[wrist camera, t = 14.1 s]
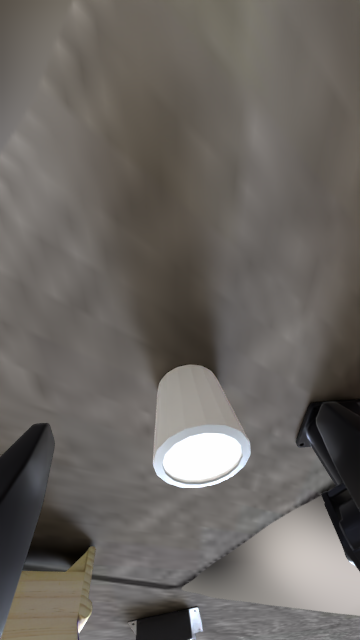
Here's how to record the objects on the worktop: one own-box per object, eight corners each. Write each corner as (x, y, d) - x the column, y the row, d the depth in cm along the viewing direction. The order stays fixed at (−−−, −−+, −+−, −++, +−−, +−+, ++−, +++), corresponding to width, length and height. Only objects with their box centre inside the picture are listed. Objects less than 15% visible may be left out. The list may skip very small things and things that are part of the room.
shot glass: (239, 385, 25) (270, 454, 18) (186, 425, 26) (199, 499, 20) (190, 344, 22) (208, 409, 16) (134, 392, 23) (131, 467, 17)
